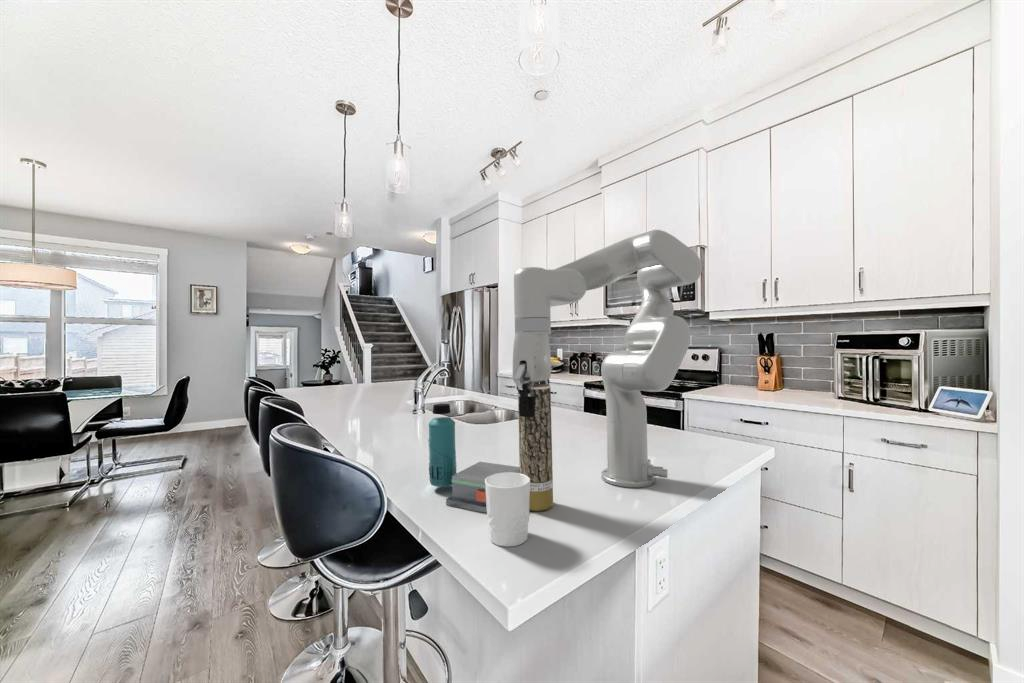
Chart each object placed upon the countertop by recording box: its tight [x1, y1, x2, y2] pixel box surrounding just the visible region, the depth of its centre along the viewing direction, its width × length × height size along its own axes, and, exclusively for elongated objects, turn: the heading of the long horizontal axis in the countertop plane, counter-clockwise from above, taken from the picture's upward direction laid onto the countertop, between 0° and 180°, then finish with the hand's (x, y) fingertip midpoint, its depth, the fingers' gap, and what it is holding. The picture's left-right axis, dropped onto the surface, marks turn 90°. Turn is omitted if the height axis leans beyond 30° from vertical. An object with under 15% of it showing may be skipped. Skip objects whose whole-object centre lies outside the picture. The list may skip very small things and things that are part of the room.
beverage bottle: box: [428, 403, 458, 488], centre depth 92 cm, size 6×7×20 cm
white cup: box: [485, 472, 530, 548], centre depth 67 cm, size 8×8×10 cm
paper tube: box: [517, 383, 554, 512], centre depth 81 cm, size 7×7×25 cm
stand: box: [445, 461, 520, 514], centre depth 85 cm, size 13×13×6 cm
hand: (534, 412), depth 81 cm, fingers closed on paper tube, 6 cm apart
